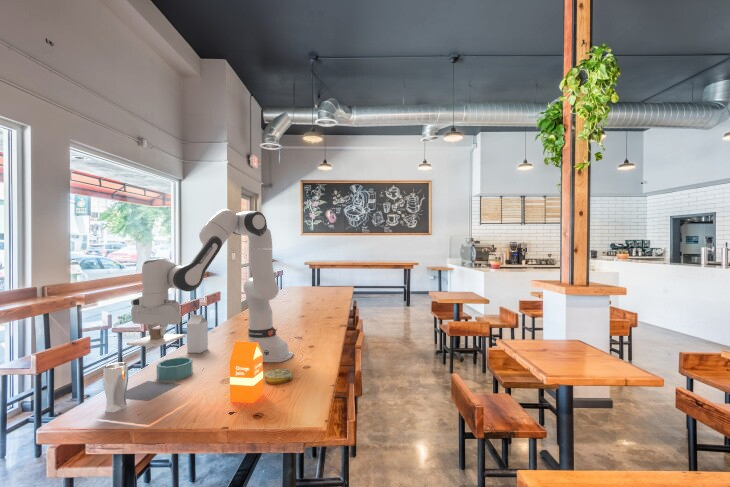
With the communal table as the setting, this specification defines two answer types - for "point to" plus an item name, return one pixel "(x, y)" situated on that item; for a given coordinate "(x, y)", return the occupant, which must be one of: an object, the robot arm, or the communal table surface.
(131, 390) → the mat
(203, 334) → the milk carton
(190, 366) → the bowl
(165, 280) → the robot arm
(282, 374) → the decorated donut
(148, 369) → the communal table surface
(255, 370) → the orange juice
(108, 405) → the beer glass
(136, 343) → the lid
